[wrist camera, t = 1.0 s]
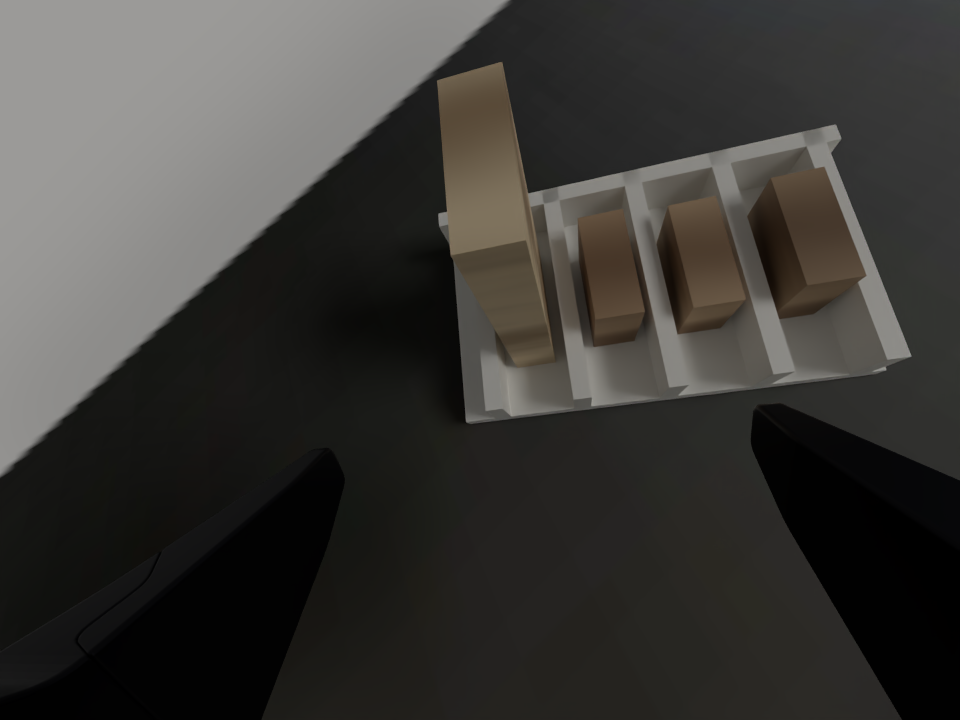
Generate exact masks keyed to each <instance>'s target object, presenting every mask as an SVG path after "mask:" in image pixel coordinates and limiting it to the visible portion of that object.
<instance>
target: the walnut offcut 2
mask: <svg viewBox="0 0 960 720" xmlns="http://www.w3.org/2000/svg"><path fill="white" fill-rule="evenodd" d="M656 245H657V249H658V254H659V258H660V262H661V266H662V271H663V275H664V279H665V283H666V288H667V292H668V296H669V301H670V305H671V309H672V313H673V318H674V322H675V326H676V330H677V335H678V334H685V333H691V332H698V331H705V330H711V329H718V328H721V327H722V326H723V325H724V324H725V323H726V321H727V320H728V319H729V318H730V317H731V316H732V315H733V314H734V312H735V311H736V310H737V309H738V308H739V307H740V306H741V305H742V304H743V302H744V301H745V300H746V297H745V294H744V290H743V287H742V283H741V280H740V277H739V273H738V270H737V266H736V263H735V259H734V256H733V253H732V249H731V246H730V242H729V239H728V235H727V232H726V229H725V225H724V222H723V218H722V215H721V211H720V208H719V205H718V201H717V198H716V196H712V197H707V198H703V199H698V200H693V201H688V202H683V203H678V204H673V205H669V206H668V207H667V210H666V214H665V217H664V220H663V224H662V227H661V230H660V233H659V237H658V240H657V243H656Z"/></svg>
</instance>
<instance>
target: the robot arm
mask: <svg viewBox="0 0 960 720" xmlns="http://www.w3.org/2000/svg"><path fill="white" fill-rule="evenodd" d="M751 446H752V449H753V452H754V455H755V457H756V459H757V461H758V464H759V466H760V468H761V470H762V472H763V475H764V477H765V479H766V481H767V484H768V486H769V488H770V490H771V493H772V495H773V497H774V499H775V502H776V504H777V506H778V508H779V511H780V513H781V515H782V517H783V519H784V521H785V523H786V525H787V526H788V528H789V530H790V532H791V534H792V535H793V537H794V539H795V540H796V542H797V544H798V545H799V547H800V549H801V550H802V552H803V554H804V556H805V557H806V559H807V561H808V562H809V564H810V566H811V567H812V569H813V571H814V572H815V574H816V576H817V577H818V579H819V581H820V582H821V584H822V586H823V588H824V589H825V591H826V593H827V594H828V596H829V598H830V599H831V601H832V603H833V604H834V606H835V608H836V609H837V611H838V613H839V614H840V616H841V618H842V619H843V621H844V623H845V625H846V626H847V628H848V630H849V631H850V633H851V635H852V636H853V638H854V640H855V641H856V643H857V645H858V646H859V648H860V650H861V651H862V653H863V655H864V657H865V658H866V660H867V662H868V663H869V665H870V667H871V668H872V670H873V672H874V673H875V675H876V677H877V678H878V680H879V682H880V683H881V685H882V687H883V688H884V690H885V692H886V694H887V695H888V697H889V699H890V700H891V702H892V704H893V705H894V707H895V709H896V710H897V712H898V714H899V715H900V717H901V719H902V720H960V480H957V479H955V478H953V477H951V476H948V475H946V474H944V473H941V472H939V471H937V470H934V469H932V468H930V467H927V466H925V465H923V464H920V463H918V462H916V461H914V460H911V459H909V458H907V457H904V456H902V455H900V454H897V453H895V452H893V451H890V450H888V449H886V448H883V447H881V446H879V445H876V444H874V443H872V442H870V441H867V440H865V439H863V438H860V437H858V436H856V435H853V434H851V433H849V432H846V431H844V430H842V429H839V428H837V427H835V426H833V425H830V424H828V423H826V422H823V421H821V420H819V419H816V418H814V417H812V416H809V415H807V414H805V413H802V412H800V411H798V410H796V409H793V408H791V407H789V406H786V405H784V404H781V403H770V404H761V405H757V406H756V407H755V408H754V411H753V419H752V431H751ZM344 483H345V478H344V474H343V471H342V469H341V467H340V465H339V462H338V460H337V458H336V456H335V454H334V452H333V451H332V450H331V449H329V448H322V449H314V450H312V451H310V452H308V453H307V454H305V455H304V456H302V457H301V458H299V459H298V460H296V461H295V462H293V463H292V464H290V465H289V466H287V467H286V468H284V469H283V470H281V471H280V472H278V473H277V474H275V475H274V476H272V477H271V478H269V479H268V480H266V481H265V482H263V483H262V484H260V485H259V486H257V487H256V488H254V489H253V490H251V491H250V492H248V493H247V494H245V495H244V496H242V497H241V498H239V499H238V500H236V501H235V502H233V503H232V504H230V505H229V506H227V507H226V508H224V509H223V510H221V511H220V512H218V513H217V514H215V515H214V516H212V517H211V518H209V519H208V520H206V521H205V522H203V523H202V524H200V525H199V526H197V527H196V528H194V529H193V530H191V531H190V532H188V533H187V534H185V535H184V536H182V537H181V538H179V539H178V540H176V541H175V542H173V543H172V544H170V545H169V546H167V547H166V548H164V549H163V550H162V552H158V553H157V554H155V555H154V556H152V557H151V558H149V559H148V560H146V561H145V562H143V563H142V564H140V565H139V566H137V567H136V568H134V569H133V570H131V571H129V572H128V573H126V574H125V575H123V576H122V577H120V578H119V579H117V580H116V581H114V582H113V583H111V584H109V585H108V586H106V587H105V588H103V589H101V590H100V591H98V592H97V593H95V594H93V595H92V596H90V597H89V598H87V599H85V600H84V601H82V602H80V603H79V604H77V605H76V606H74V607H72V608H71V609H69V610H67V611H66V612H64V613H63V614H61V615H59V616H58V617H56V618H54V619H53V620H51V621H49V622H48V623H46V624H45V625H43V626H41V627H40V628H38V629H36V630H35V631H33V632H31V633H30V634H28V635H26V636H25V637H23V638H22V639H20V640H18V641H17V642H15V643H13V644H12V645H10V646H8V647H7V648H5V649H4V650H2V651H0V720H261V719H262V716H263V713H264V711H265V708H266V706H267V703H268V700H269V698H270V695H271V693H272V690H273V687H274V685H275V682H276V679H277V677H278V674H279V672H280V669H281V666H282V664H283V661H284V659H285V656H286V653H287V651H288V648H289V645H290V643H291V640H292V638H293V635H294V632H295V630H296V627H297V625H298V622H299V619H300V617H301V614H302V611H303V609H304V606H305V604H306V601H307V598H308V596H309V593H310V591H311V588H312V585H313V583H314V580H315V577H316V575H317V572H318V570H319V567H320V564H321V562H322V559H323V557H324V554H325V551H326V548H327V545H328V542H329V539H330V536H331V532H332V528H333V525H334V521H335V517H336V514H337V510H338V506H339V503H340V499H341V495H342V491H343V488H344Z"/></svg>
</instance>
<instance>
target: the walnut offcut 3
mask: <svg viewBox="0 0 960 720" xmlns="http://www.w3.org/2000/svg"><path fill="white" fill-rule="evenodd" d="M747 218H748V221H749V224H750V227H751V230H752V234H753V237H754V240H755V243H756V246H757V250H758V253H759V256H760V259H761V263H762V266H763V269H764V272H765V275H766V279H767V282H768V285H769V288H770V291H771V295H772V298H773V301H774V304H775V308H776V311H777V314H778V317H779V319H785V318H792V317H798V316H805V315H812V314H815V313H816V312H817V311H819V310H820V309H821V308H823V307H824V306H826V305H827V304H828V303H830V302H831V301H832V300H834V299H835V298H837V297H838V296H839V295H841V294H842V293H844V292H845V291H846V290H848V289H849V288H850V287H852V286H853V285H855V284H856V283H857V282H859V281H860V280H862V279H863V278H864V277H866V276H867V275H866V273H865V270H864V267H863V265H862V262H861V260H860V257H859V254H858V252H857V249H856V247H855V244H854V242H853V239H852V236H851V234H850V231H849V229H848V226H847V223H846V221H845V218H844V216H843V213H842V211H841V208H840V205H839V203H838V200H837V198H836V195H835V192H834V190H833V187H832V185H831V182H830V180H829V177H828V174H827V172H826V169H825V167H820V168H815V169H810V170H806V171H801V172H796V173H791V174H787V175H782V176H777V177H772V178H770V180H769V182H768V183H767V185H766V186H765V188H764V190H763V191H762V193H761V195H760V196H759V198H758V199H757V201H756V203H755V204H754V206H753V207H752V209H751V211H750V212H749V214H748V216H747Z"/></svg>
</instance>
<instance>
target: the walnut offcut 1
mask: <svg viewBox="0 0 960 720" xmlns="http://www.w3.org/2000/svg"><path fill="white" fill-rule="evenodd" d="M578 254H579V265H580V271H581V277H582V282H583V288H584V294H585V300H586V306H587V311H588V317H589V323H590V329H591V335H592V340H593V346H594V347H598V346H605V345H611V344H618V343H625V342H631V341H635V338H636V335H637V333H638V330H639V327H640V324H641V321H642V319H643V316H644V313H645V309H644V304H643V300H642V295H641V290H640V286H639V281H638V276H637V272H636V267H635V262H634V258H633V253H632V249H631V244H630V239H629V235H628V230H627V225H626V221H625V216H624V211H623V209H619V210H614V211H609V212H605V213H600V214H595V215H590V216H585V217H581V218H578Z"/></svg>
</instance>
